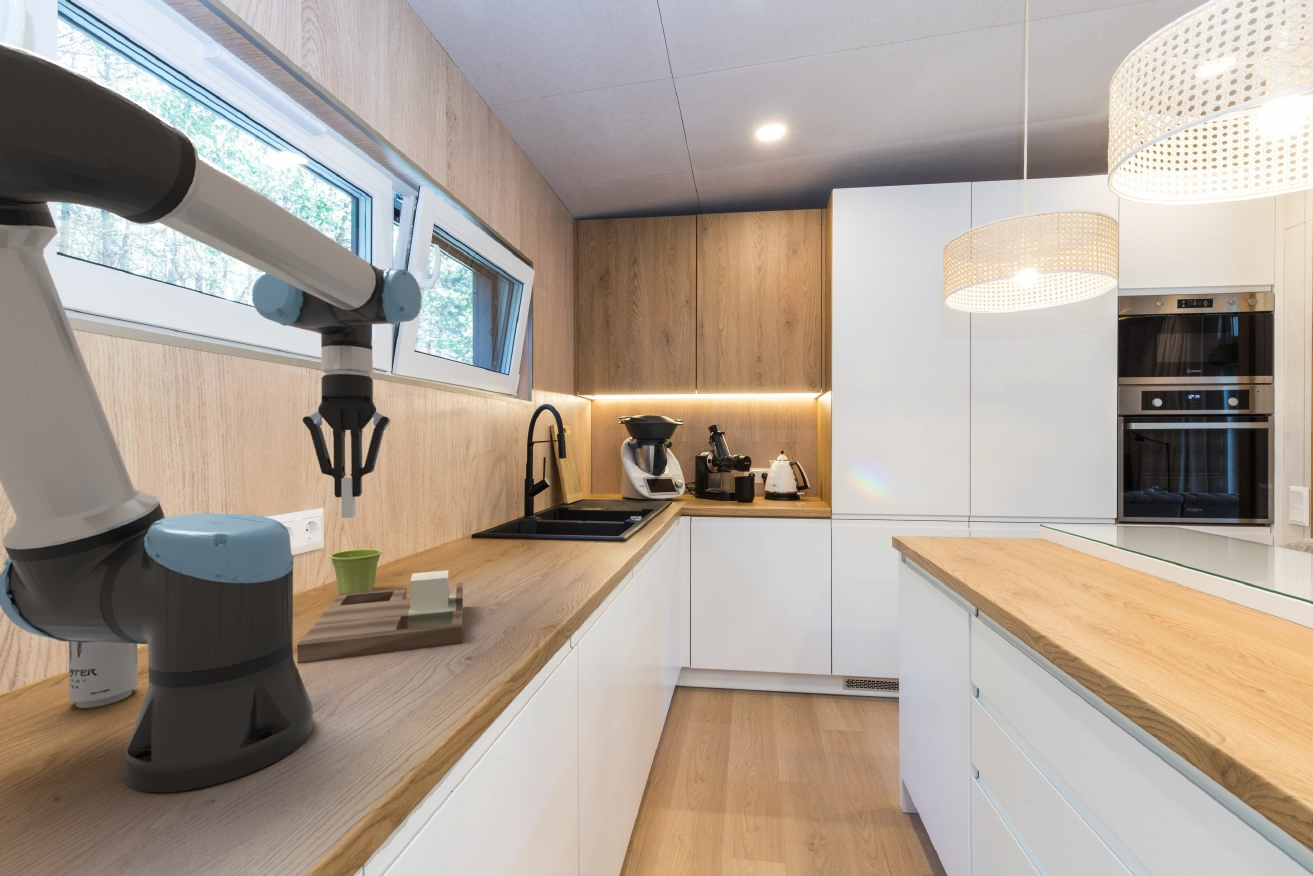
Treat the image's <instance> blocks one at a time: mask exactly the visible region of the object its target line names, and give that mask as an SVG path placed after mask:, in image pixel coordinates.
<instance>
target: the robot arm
mask: <svg viewBox="0 0 1313 876" xmlns="http://www.w3.org/2000/svg"><path fill="white" fill-rule="evenodd" d="M48 202H49V203H61V204H62V203H64V204H70V205H71V204H72V205H80V206H84V207H89V208H90V207H91V208H95V209H98V210H99V209H100V210H102V211H106V212H108V213H111V214H113V215H116V216H118V217H120V218H123V219H125V220H126V221H129V222H132V223H134V224H137V225H147V226H148V225H154V224H162V225H164V226H165V227H168V228H169V229H172V230H174V231H176V232H178V233H181V234H182V235H185V236H187V237H189V238H191V239H193V240H195V241H197V242H200V243H202V244H203V245H206V246H208V247H210V248H212V249H214V250H216V251H218V252H221V253H223V254H225V255H227V256H229V257H231V258H233V259H236V260H237V261H239V262H242V263H244V264H246V265H248V266H250V267H253V268H254V269H256V270H258V271H261V272H262V273H260V275H259V276H258V277H257V278H256V280H255V281H254V283H253V285H252V291H251V292H252V294H251V296H252V297H251V298H252V299H251V301H252V304H253V307H254V309H255V310H256V311H257V313H258V314H259V315H260V316H262V317H263V318H265V319H267V320H269V321H272V322H275V323H277V324H279V325H282V326H287V327H294V328H295V329H296V328H297V329H301V330H305V331H309V332H312V333H313V332H314V333H317V334H321V337H320V338H321V341H320V342H321V344H320V345H321V353H320V354H321V362H320V364H321V366H320V367H321V369H320V370H321V372H323V373H325V374H324V375H322V377H321V402H320V404H319V405H318V408H317V411H315V412H314V413H312V414H311V415H307V416H304V417H303V418H302V422H303V424H304V425H305V427H306V428H307V429H308V430H309V432H310V435H311V439H312V443H313V447H314V450H315V454H316V457H317V461H318V464H319V468H320V472H321V473H322V474H323V475H327V476H329V477H332V478H333V479H334V481H333V482H334V485H333V486H334V487H333V488H334V489H333V490H334V492H333V493H334V497H335V498H341V519H351V518H353V517H356V498H357V497H358V498H359V497H362V493H363V486H362V483H363V482H362V481H363V477H364V476H365V475H369V474H370V473H373V472H374V470H375V466H376V463H377V459H378V455H379V451H380V447H381V443H382V439H383V435H384V432H385V430H386V429H387V427H388V426H389V424H390V423H391V419H390V418H389V417H388V416H384V415H383V414H381V413H380V412H378V411H377V408H376V406H375V404H374V391H373V390H374V388H373V387H374V381H373V380H374V379H373V378H372V377H371V376H370V375H372V374H373V372H374V369H373V366H374V365H373V363H374V362H373V345H372V344H373V343H372V342H373V325H385V324H387V325H388V324H390V325H395V324H396V323H405V322H411V321H413V320H414V319H416V318H417V317H418V315H419V314H420V311H421V309H422V293H421V288H420V285H419V282H418V281H417V279H416V278H415V276H414V275H413V274H412V273H411V272H410V271H408V270H406V269H402V268H398V269H397V268H392V267H389V268H386V269H380V268H378V267H377V266H375V265H373V264H372V263H369V261H367V260H366V259H364V258H362V257H361V256H359V255H357V254H355V253H354V252H353V251H351V250H349V249H348V248H347V247H345V246H344V245H342V244H340V243H338V242H337V241H335V240H334V239H332V238H330V236H328V235H326V234H325V233H323V232H321V231H319V230H318V229H316V228H315V227H313V226H312V225H310V224H308V223H307V222H305V221H304V220H303V219H301V218H299V217H297V216H296V215H294V214H293V213H291V212H290V211H288V210H287V209H285V208H283V207H282V206H281V205H278V203H276V202H274V201H272V200H271V199H269V198H268V197H266V196H264V195H263V194H261V193H260V192H258V191H257V190H255V189H254V188H252V187H250V186H249V185H247V184H245V183H244V182H243V181H241V180H239V179H238V178H236V177H234V176H233V175H232V174H230V173H228V172H226V171H225V170H224V169H222V168H221V167H219V166H217V165H216V164H214V163H212V162H211V161H210V160H208V159H206V158H205V157H203V156H201V155H200V154H199V153H198V150H197V147H196V144H195V143H194V141H193V140H192V138H191V137H190V136H189V135H188V134H186V133H185V132H184V131H183V130H181V129H179V128H178V127H176V126H175V125H173V124H172V123H170V122H169V121H167V120H165V119H164V118H162V117H161V116H159V115H158V114H156V113H155V112H153V111H151V110H150V109H148V108H147V107H145V106H143V105H142V104H140V103H139V102H137V101H135V100H133V99H131V98H130V97H128V96H126V95H124V94H122V93H120V92H119V91H117V90H115V89H113V88H111V87H110V86H108V85H106V84H104V83H102V82H99V81H98V80H96V79H94V78H92V77H90V76H88V75H87V74H84V73H81V72H80V71H77V70H75V69H73V68H70V67H68V66H67V65H64V64H62V63H60V62H58V61H55V60H52V59H50V58H48V57H45V56H43V55H40V54H37V53H35V52H32V51H30V50H27V49H25V48H20V47H17V46H15V45H12V44H7V43H5V42H1V41H0V485H1V487H2V489H3V490H4V493H5V495H6V496H7V499H8V501H9V503H10V506H11V508H12V510H13V513H14V514H15V517H16V520H15V522H14V523H13V525H12V526H11V527H10V528H9V530H8V531H7V532H6V534H5V535H4V536H3V537H2V544H3V547H4V549H5V550H6V553H7V555H8V556H7V558H6V559H5V561H4V563H3V565H5V567H4V570H3V571H2V573H0V608H1V611H3V612H4V614H5V616H6V617H7V618H8V619H9V620H10V621H11V622H12V623H13V624H14V625H15V626H17V627H19V628H20V629H22V630H24V631H25V632H27V633H30V634H33V635H35V636H39V637H43V638H49V639H53V640H56V641H60V642H69V641H73V642H77V643H86V642H95V641H98V642H116V643H133V644H137V645H147V647H148V648H147V650H148V653H147V654H148V690H147V693H146V696H145V698H144V701H143V703H142V706H141V709H140V711H139V714H138V717H137V720H136V721H135V722H136V723H135V725H134V727H133V730H132V733H131V736H130V738H129V741H128V744H127V746H126V749H125V753H124V761H123V762H124V781H125V783H126V785H128V786H129V787H130V788H132V789H134V790H137V791H141V792H147V793H148V792H149V793H173V792H176V793H177V792H183V791H189V790H196V789H200V788H205V787H209V786H213V785H217V784H222V783H224V782H228V781H231V780H234V779H238V778H240V777H243V776H246V775H248V774H252V773H254V772H256V771H258V770H261V769H263V768H265V767H267V766H269V765H271V764H273V763H276V762H278V761H280V760H281V759H282V758H284V757H286V756H288V755H289V754H291V753H293V752H294V751H295V750H296V749H298V748H300V747H301V746H302V744H303V743H305V742H306V741H307V740H308V739H309V737H310V735H311V734H312V732H313V729H314V708H313V704H312V700H311V698H310V696H309V693H308V691H307V689H306V687H305V684H304V682H303V679H302V676H301V674H300V672H299V669H298V667H297V665H296V662H295V660H294V651H293V650H294V646H293V635H294V632H293V631H294V630H293V629H294V628H293V626H294V625H293V624H294V622H293V621H294V619H293V617H294V616H293V615H294V611H293V609H294V608H293V607H294V555H293V553H292V546H291V536H290V533H289V529H288V528H287V526H285V525H284V524H283V523H281V522H280V521H278V520H276V519H273V518H270V517H265V516H262V515H261V516H260V515H253V514H245V513H215V512H214V513H210V512H209V513H193V514H182V515H175V516H169V517H166V516H165V512H164V511H163V509H162V506H161V503H160V501H159V498H158V497H157V496H156V495H153V494H149V493H147V492H144V491H142V490H139V489H136V488H135V487H134V485H133V483H132V479H131V477H130V474H129V473H128V469H127V467H126V464H125V462H124V459H123V457H122V454H121V451H120V449H119V446H118V444H117V441H116V438H115V436H114V434H113V433H114V432H113V431H112V428H111V426H110V423H109V421H108V419H107V415H106V413H105V411H104V408H103V405H102V403H101V400H100V397H99V395H98V392H97V389H96V388H95V384H94V382H93V380H92V377H91V374H90V371H89V369H88V367H87V364H86V362H85V358H84V357H83V354H82V351H81V349H80V346H79V344H78V341H77V338H76V336H75V334H74V330H73V328H72V326H71V323H70V319H69V318H68V315H67V313H66V310H65V307H64V305H63V303H62V302H63V301H62V300H61V297H60V294H59V292H58V290H57V287H56V285H55V282H54V279H53V277H52V275H51V272H50V269H49V267H48V263H47V262H46V259H45V256H44V251H45V250H44V249H45V248H46V247H47V246H48V245H49V243H51V241H52V240H53V239H54V237H55V236H56V235H57V234H58V233H59V232H58V229H57V227H56V224H55V220H54V219H53V216H52V213H51V210H50V208H49V204H48ZM322 418H323V420H324V421H325V422H326V423H327V425H328V426H329V427H330V428H331V429H332V437H333V463H332V462H331V457H330V454H329V450H328V446H327V443H326V439H325V436H324V432H323V429H322V427H321V426H322V425H323V421H322ZM372 419H373V422H372V423H373V425H374V427H373V428H374V429H373V431H372V434H371V435H372V436H371V439H370V443H369V446H368V451H367V455H366V458H365V461H364V466H363V429H365V428H366V426H367V425H368V424H369V423H370V421H371V420H372ZM347 431H349V433H350V460H351V462H350V464H351V466H350V467H351V468H350V469H351V471H350V473H351V474H350V476H351V477H345V476H347V475H346V474H347V473H346V432H347ZM332 464H333V465H332Z"/></svg>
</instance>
